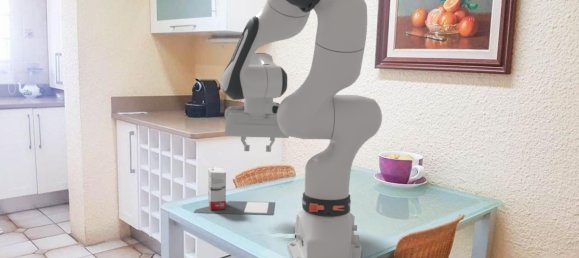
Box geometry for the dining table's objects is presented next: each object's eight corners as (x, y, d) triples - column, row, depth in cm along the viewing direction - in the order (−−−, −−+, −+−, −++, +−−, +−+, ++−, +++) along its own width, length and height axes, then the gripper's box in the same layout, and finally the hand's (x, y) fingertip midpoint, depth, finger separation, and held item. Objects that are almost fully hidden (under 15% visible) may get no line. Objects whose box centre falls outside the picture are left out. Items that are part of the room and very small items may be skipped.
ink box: (226, 209, 142) (226, 172, 141) (210, 210, 141) (210, 172, 139) (223, 201, 150) (223, 166, 149) (207, 202, 149) (208, 166, 148)
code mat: (273, 215, 139) (273, 214, 139) (193, 212, 139) (193, 212, 139) (274, 202, 152) (274, 202, 152) (202, 200, 152) (202, 200, 152)
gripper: (223, 106, 138) (222, 152, 140) (291, 108, 138) (290, 154, 140) (226, 105, 145) (225, 148, 147) (291, 106, 145) (290, 150, 147)
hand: (257, 151), depth 143 cm, fingers open, 5 cm apart
